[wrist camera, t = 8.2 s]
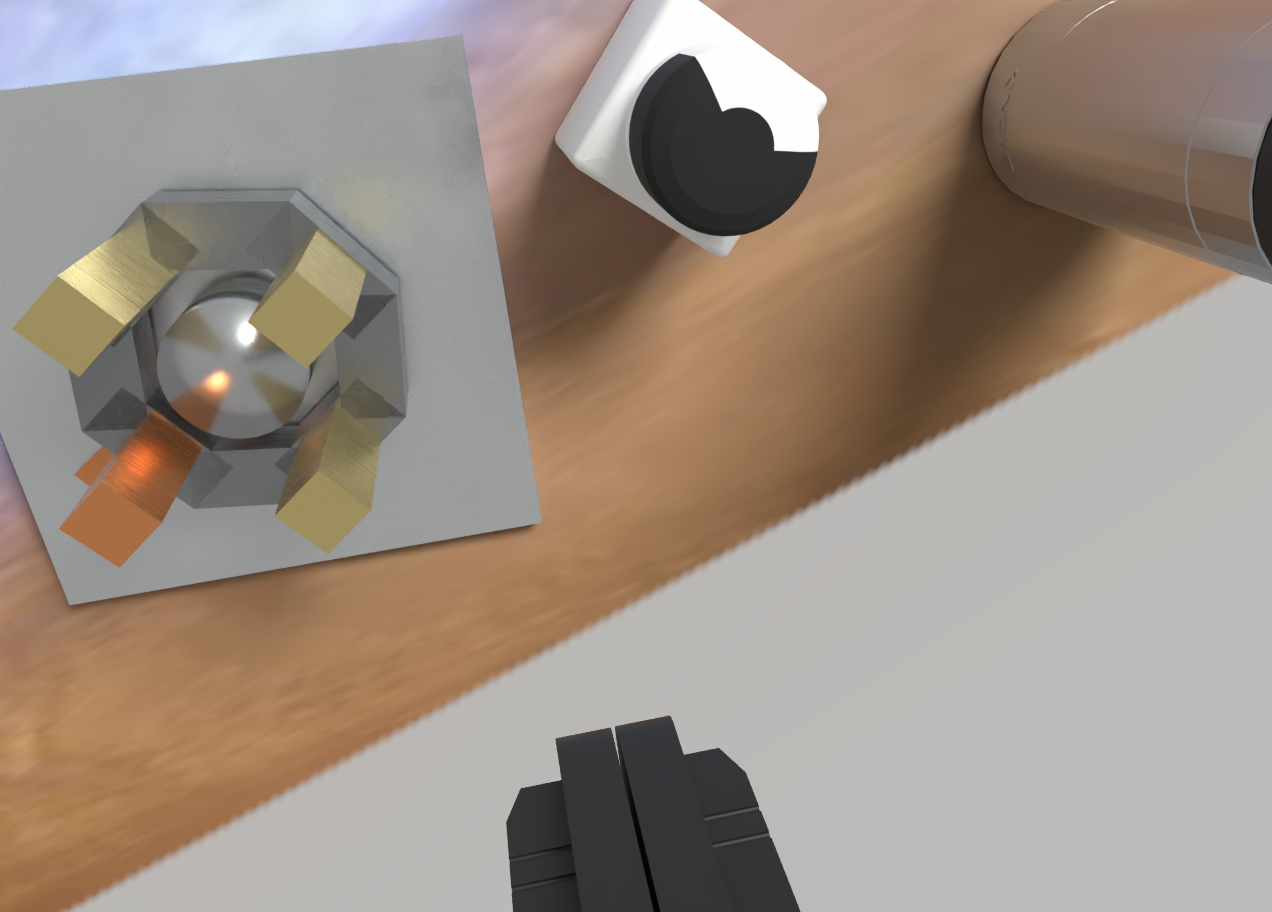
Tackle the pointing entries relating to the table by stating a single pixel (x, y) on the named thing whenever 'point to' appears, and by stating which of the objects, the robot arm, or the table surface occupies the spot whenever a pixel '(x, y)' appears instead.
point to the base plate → (226, 299)
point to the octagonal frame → (287, 315)
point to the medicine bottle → (695, 124)
